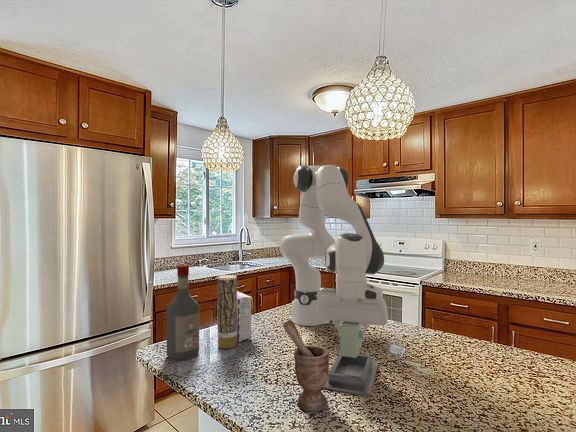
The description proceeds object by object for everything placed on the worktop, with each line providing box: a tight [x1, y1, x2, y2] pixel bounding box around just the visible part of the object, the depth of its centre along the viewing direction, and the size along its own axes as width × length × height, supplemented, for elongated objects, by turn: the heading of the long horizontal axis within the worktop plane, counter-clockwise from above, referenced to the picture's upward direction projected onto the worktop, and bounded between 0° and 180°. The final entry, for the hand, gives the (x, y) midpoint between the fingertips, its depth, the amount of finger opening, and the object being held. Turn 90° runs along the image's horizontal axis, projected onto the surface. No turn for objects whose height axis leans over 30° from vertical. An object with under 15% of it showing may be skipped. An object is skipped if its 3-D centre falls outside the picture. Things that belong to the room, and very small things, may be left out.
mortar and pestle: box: [282, 319, 330, 412], centre depth 84 cm, size 12×9×20 cm
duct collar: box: [322, 353, 379, 398], centre depth 99 cm, size 20×13×3 cm, turn 160°
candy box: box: [237, 290, 252, 343], centre depth 133 cm, size 14×6×16 cm, turn 33°
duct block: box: [339, 322, 363, 358], centre depth 99 cm, size 4×11×8 cm, turn 160°
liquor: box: [166, 264, 200, 362], centre depth 115 cm, size 9×9×30 cm
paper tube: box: [217, 274, 238, 350], centre depth 122 cm, size 7×7×25 cm
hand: (351, 337), depth 99 cm, fingers closed on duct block, 4 cm apart
